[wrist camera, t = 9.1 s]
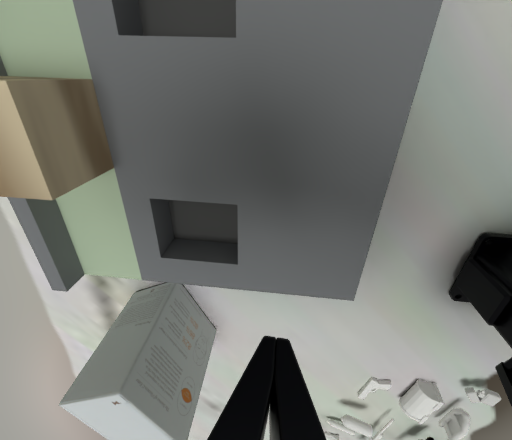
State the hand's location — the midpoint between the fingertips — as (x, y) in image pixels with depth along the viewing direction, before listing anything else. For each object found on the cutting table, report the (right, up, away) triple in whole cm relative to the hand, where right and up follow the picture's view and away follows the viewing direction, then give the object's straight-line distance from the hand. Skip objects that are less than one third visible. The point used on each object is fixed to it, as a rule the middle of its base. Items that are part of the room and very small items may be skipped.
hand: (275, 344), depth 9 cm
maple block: (-12, +10, +7) cm, 17 cm away
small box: (-9, -5, +19) cm, 21 cm away
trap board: (-3, +11, +9) cm, 14 cm away
